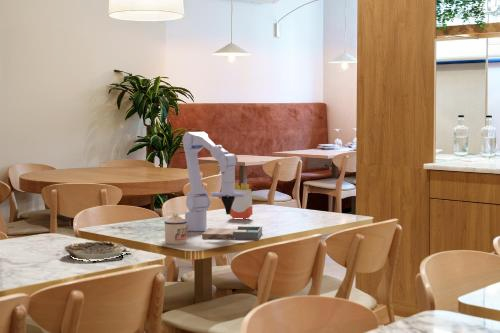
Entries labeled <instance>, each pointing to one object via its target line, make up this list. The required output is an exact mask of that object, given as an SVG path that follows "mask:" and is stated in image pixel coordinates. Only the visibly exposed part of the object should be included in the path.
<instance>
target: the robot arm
mask: <svg viewBox="0 0 500 333" xmlns="http://www.w3.org/2000/svg"><path fill="white" fill-rule="evenodd" d="M181 140H182V144H183V151H184V154H185V160H186V167H187V175H188V179H189V180H188V181H189V187H190V189H189V191H188V192H187V193H186V195H185V197H186V200H185V204H186V207H187V210H185V213H184V219H185V220H186V221H187V223H186V224H187V225H188V231H187V232H205V231H206V230H207V229H209V228H210V227H207V226H208V225H207V211H208V209H209V208H210V206H211V198H221V202H222V204H223V206H224V209H225V213H226V215H230V211H231V207H232V204H233V202H234V199H235V197H242V198H245V193H241V192H235V183H236V179H235V178H236V177H235V176H236V172H235V171H236V169H235V168H236V167H237V165H238V163H239V161H238V157H237V155H236V154H235V153H231V152H229V151H228V150H226V149H225V148H224V147H223V145H221V144H217V145H216V144H215V143H214V141H213V140H211V139H210V138H209V134H208V133H206V132H205V131H186V132H185V133H184V135H183V136H182V139H181ZM203 148H205V149H207V151H209V152H210V156H211V157H212V158H213V159H215V160H216V161H217V162H218V166H219V170H220V171H219V172H221V173H220V174H221V177H220V178H221V179H220V180H221V185H220V186H221V188H220V189H221V191H216V192H214V191H212V192H210V196H209V193H208V191H207V190H206V189H205V188H203V183H202V177H201V176H202V175H201V170H200V168H201V167H200V163H199V157H198V153H199V152H200V151H202V149H203ZM229 195H232V196H229Z"/></svg>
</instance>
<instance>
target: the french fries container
mask: <svg viewBox="0 0 500 333" xmlns="http://www.w3.org/2000/svg"><path fill="white" fill-rule="evenodd" d="M235 192H241V193H245V198H242V197H235V199H234V202H233V204H232V207H231V211H230V214H229V216H230V217H231V218H232V219H233V218H243V219H245V220H247V219H246V218H248V219H249V218H250V217H251V216H253V199H252V197H253V195H252V188H250V184H246V185H245V184H244V183H243V182H242V183H240V185H239V183H238V182H235ZM228 196H232V195H228Z"/></svg>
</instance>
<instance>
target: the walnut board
mask: <svg viewBox="0 0 500 333" xmlns="http://www.w3.org/2000/svg"><path fill="white" fill-rule="evenodd" d="M208 228H209V229H207V230H206V231H203V232H202V233H201V239H202V238H228V239H227V240H234V239H233V232H235V231H236V230H238V228H227V227H226V228H223V227H222V228H219V227H218V228H215V227H213V228H212V227H208ZM229 238H231V239H229Z"/></svg>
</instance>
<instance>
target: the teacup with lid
mask: <svg viewBox="0 0 500 333" xmlns="http://www.w3.org/2000/svg"><path fill="white" fill-rule="evenodd" d="M163 223H164V243H165V244H166V245H185V244H186V243H187V233H188V232H189V231H188V225H187V224H186V223H187V221H186V220H185V218H183V217H181V216H179V214H177V213H174V214H173V215H172V216H171V217H169V218H168V219H165V220H164V222H163Z"/></svg>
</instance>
